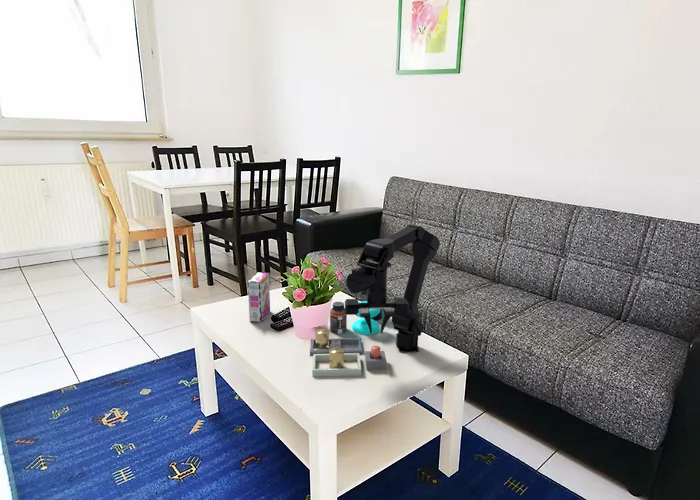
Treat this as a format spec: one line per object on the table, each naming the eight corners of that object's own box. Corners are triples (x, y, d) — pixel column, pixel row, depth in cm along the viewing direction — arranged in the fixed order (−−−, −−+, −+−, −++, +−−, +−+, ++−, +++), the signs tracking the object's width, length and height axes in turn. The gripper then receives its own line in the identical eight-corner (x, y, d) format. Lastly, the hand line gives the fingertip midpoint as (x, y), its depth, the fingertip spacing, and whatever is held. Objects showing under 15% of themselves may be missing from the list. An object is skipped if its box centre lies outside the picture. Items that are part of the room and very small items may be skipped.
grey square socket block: (383, 362, 141) (384, 350, 140) (386, 372, 136) (386, 360, 134) (365, 362, 141) (365, 351, 140) (366, 373, 135) (366, 361, 134)
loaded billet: (329, 344, 150) (328, 328, 148) (329, 351, 146) (328, 334, 144) (316, 345, 150) (315, 328, 148) (315, 351, 146) (315, 335, 144)
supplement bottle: (344, 337, 158) (344, 307, 154) (328, 335, 159) (327, 306, 156) (348, 329, 163) (348, 301, 160) (332, 328, 164) (332, 299, 161)
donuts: (383, 302, 162) (375, 313, 153) (383, 327, 165) (374, 339, 156) (357, 298, 166) (348, 308, 157) (357, 323, 168) (348, 334, 160)
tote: (359, 361, 142) (359, 353, 141) (361, 378, 133) (361, 369, 132) (313, 362, 141) (313, 354, 140) (312, 379, 132) (312, 370, 131)
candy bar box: (262, 323, 168) (259, 282, 164) (249, 322, 169) (246, 281, 164) (271, 311, 179) (269, 272, 174) (259, 310, 180) (256, 271, 175)
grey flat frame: (360, 342, 154) (360, 336, 153) (362, 357, 144) (362, 350, 143) (311, 343, 153) (310, 337, 152) (309, 358, 143) (309, 351, 143)
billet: (343, 364, 139) (343, 347, 137) (344, 372, 135) (344, 354, 133) (329, 364, 139) (329, 347, 137) (329, 372, 135) (329, 354, 133)
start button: (379, 354, 139) (379, 345, 138) (380, 358, 136) (380, 349, 135) (370, 354, 139) (370, 345, 138) (371, 359, 136) (371, 350, 135)
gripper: (404, 274, 139) (402, 320, 143) (344, 275, 138) (344, 321, 142) (410, 287, 128) (408, 336, 132) (345, 288, 127) (345, 337, 132)
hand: (376, 332), depth 135 cm, fingers open, 3 cm apart
